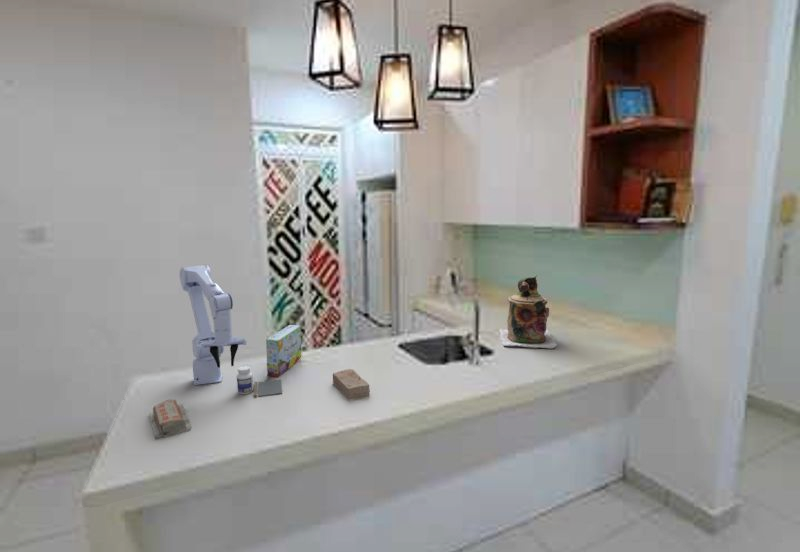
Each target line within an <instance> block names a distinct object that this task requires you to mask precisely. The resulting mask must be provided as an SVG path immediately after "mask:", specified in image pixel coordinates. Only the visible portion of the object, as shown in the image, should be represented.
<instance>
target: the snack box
mask: <svg viewBox="0 0 800 552" xmlns="http://www.w3.org/2000/svg"><path fill="white" fill-rule="evenodd" d="M301 331H302V329H301V325H296V324H289V325H287V326H286V327H284V328H282V329H281V330H280V331H277V332H276V333H275V334H272V335H271V336H269V337H267V339H266V340H265V346H266V349H265V350H266V370H267V373H266V374H267V376H269V377H274V376H277V377H276V378H279V377H281V376H282V375H283V374H284V373H285V372H287V371H288V370H289V369H290V368H291V367H293V366H294V365H295V364H296V363H298V362H299V361H300V360H301V359H302V332H301ZM300 358H301V359H300ZM299 359H300V360H299ZM298 360H299V361H298ZM297 361H298V362H297Z"/></svg>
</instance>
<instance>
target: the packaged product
mask: <svg viewBox="0 0 800 552" xmlns="http://www.w3.org/2000/svg"><path fill="white" fill-rule="evenodd" d="M148 414H149V415H148V416H149V420H150V423H151V428H152V432H153V436H154V439H155V440H158V439H162V438H163V439H164V438H165V437H166V438H167V437H170V436H173V435H177V434H182V433H185V432H189V431H192V424H191V422H190V419H189V417H188V414H187V411H186V410H185V408H184V404H183V403H180V404H178V402H177V400H176V399H173V398H172V399H171V398H170V399H167V400H165V401H162V402H160V403H158V404H156V405H154V406H153V407H152V412H149V413H148Z"/></svg>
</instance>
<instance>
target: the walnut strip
mask: <svg viewBox="0 0 800 552" xmlns="http://www.w3.org/2000/svg"><path fill="white" fill-rule="evenodd" d="M253 398H258V381H253Z"/></svg>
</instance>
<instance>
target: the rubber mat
mask: <svg viewBox="0 0 800 552" xmlns="http://www.w3.org/2000/svg"><path fill="white" fill-rule="evenodd" d="M276 395H283V388H282V380H281V379H277V380H276V379H275V380H267V381H259V382H258V397H259V398H260V397H268V396H276Z"/></svg>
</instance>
